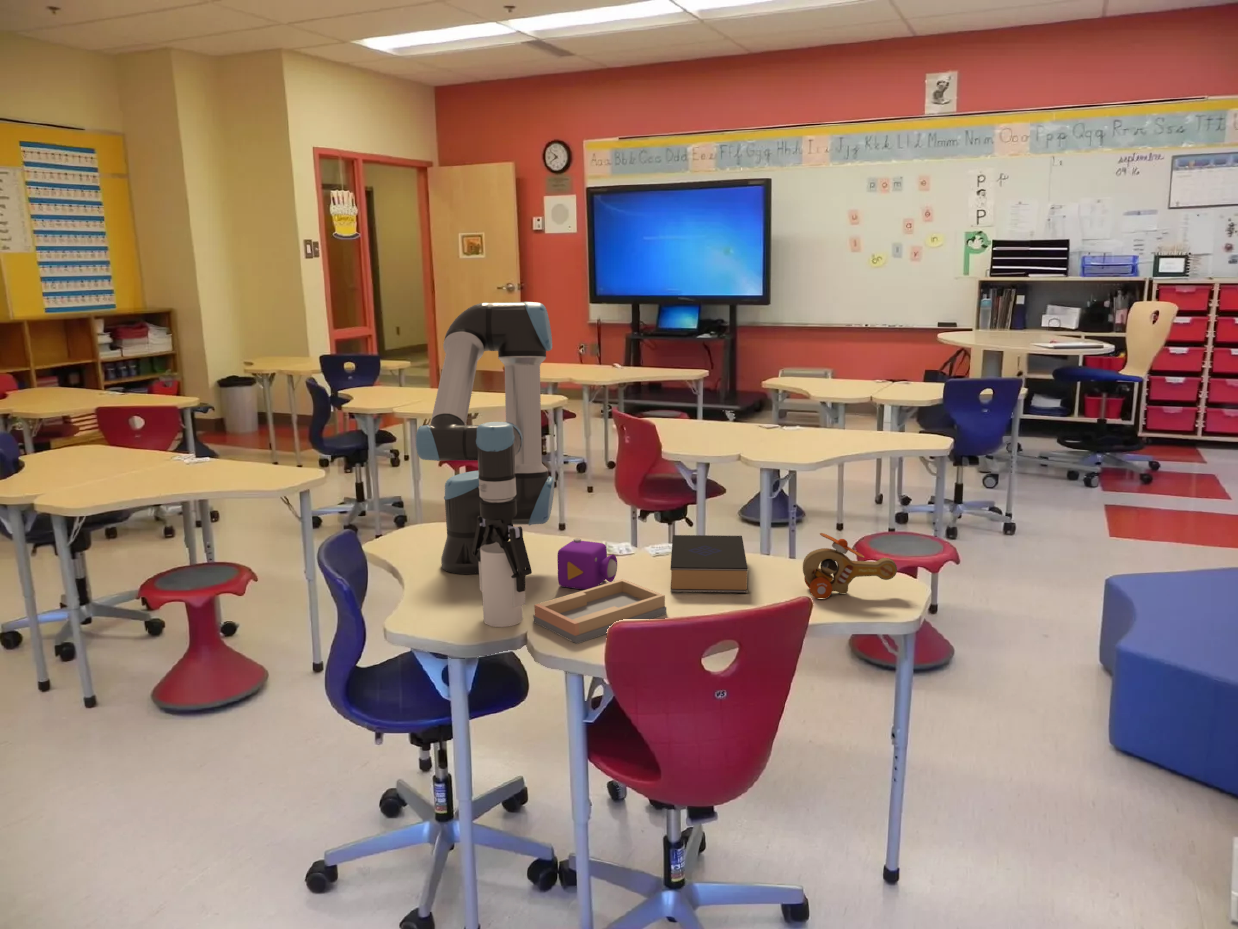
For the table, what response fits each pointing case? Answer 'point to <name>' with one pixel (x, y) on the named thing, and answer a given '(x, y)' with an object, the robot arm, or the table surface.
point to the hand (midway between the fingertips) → (502, 597)
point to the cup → (497, 588)
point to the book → (708, 564)
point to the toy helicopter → (840, 568)
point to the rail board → (598, 609)
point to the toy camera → (585, 565)
